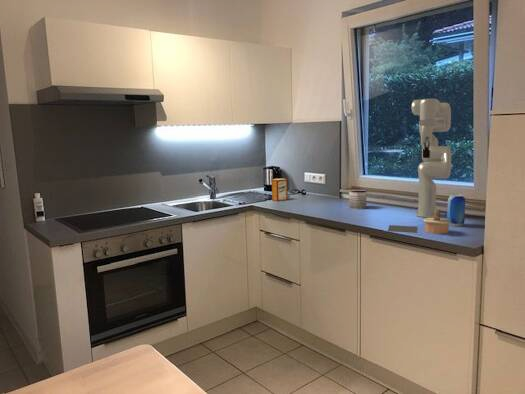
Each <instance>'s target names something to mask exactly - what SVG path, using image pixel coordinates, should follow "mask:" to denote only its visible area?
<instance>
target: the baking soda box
mask: <svg viewBox="0 0 525 394" xmlns="http://www.w3.org/2000/svg"><path fill="white" fill-rule="evenodd" d="M271 201H272V202H278V203H279V202H285V201H288V179H287V178H283V177H282V178H274V179H273V178H272V179H271Z"/></svg>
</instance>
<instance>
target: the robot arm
mask: <svg viewBox="0 0 525 394" xmlns="http://www.w3.org/2000/svg"><path fill="white" fill-rule="evenodd" d="M411 113H412V114H413V115H414V116H419V122H418V129H419V135H420V146H422V147H421V148H422V149H421V159H422V161H423V162H420V163H419V164H418V166H417V173H418V202H417V203H418V204H417V205H418V206H417V207H418V208H417V212H415V213H414V214H415V216H416V217H419V218H434V210H437V209H436V207H437V206H436V204H437V184H436V183H435V181H434V180H433V179H442V180H443V179H448V178H450V176H451V172H452V150H451V148H450V147H449V146H444V145H439V139H438V138H437V137H436V136H435V135H434V134H433V133H444V132H449V131H450V129H451V126H452V125H451V124H452V122H451V120H452V108H451V105H450V103H448V102H440V100H439V99H437V98H422V99H415V100H413V101H412V103H411Z"/></svg>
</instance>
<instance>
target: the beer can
mask: <svg viewBox="0 0 525 394" xmlns="http://www.w3.org/2000/svg"><path fill="white" fill-rule="evenodd" d="M446 211H447V212H446V213H447V215H446V219H449V220H450V221H451V222H450V223H449V227H450V226H451V227H462V226H463V225H465V218H466V217H465V216H466V213H465V212H466V198H465V195H464V194H458V193H452V194H450V195H449V197H448V198H447V210H446Z"/></svg>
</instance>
